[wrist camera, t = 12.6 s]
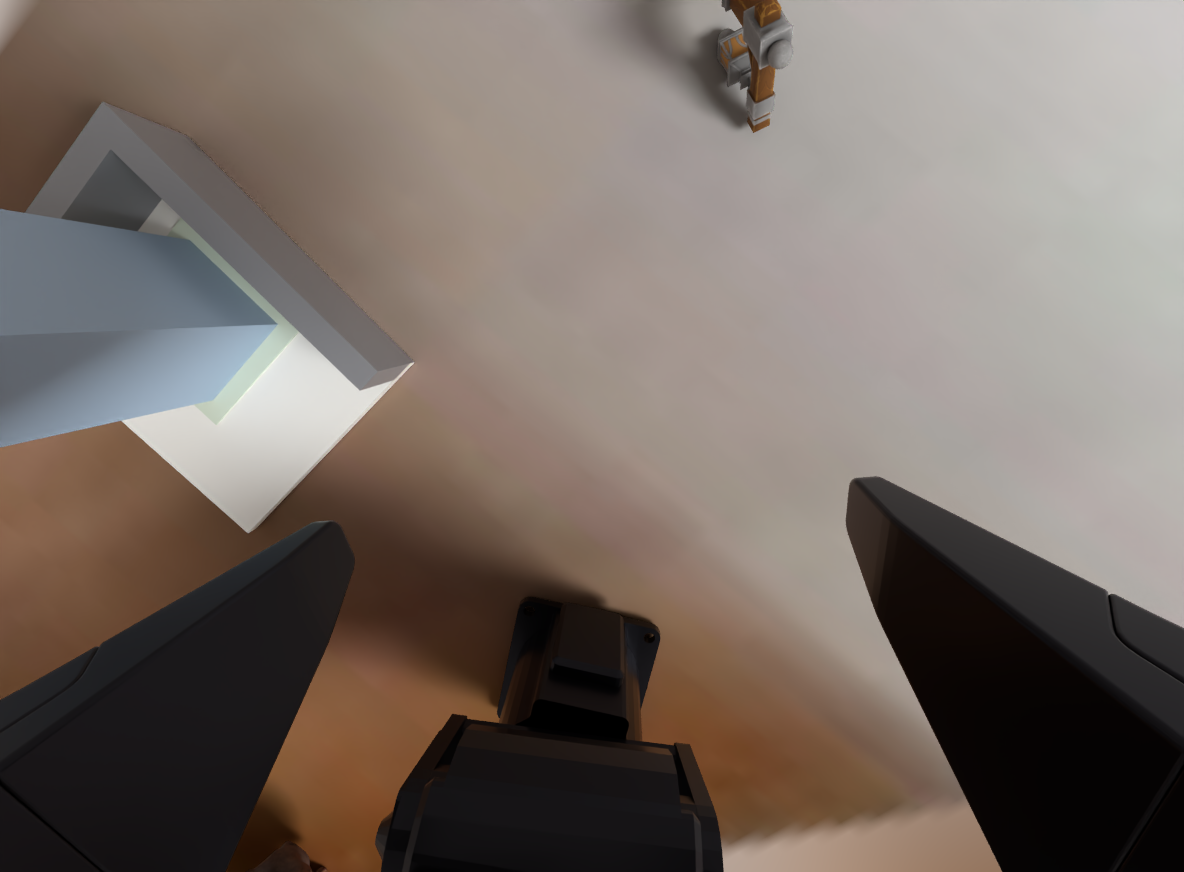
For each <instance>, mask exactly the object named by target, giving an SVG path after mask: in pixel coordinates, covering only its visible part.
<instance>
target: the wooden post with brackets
mask: <svg viewBox="0 0 1184 872" xmlns="http://www.w3.org/2000/svg"><path fill="white" fill-rule="evenodd" d="M722 7H724V8H725V11H728V10H730V9H732V11H733V12H734V14H735V15H736V17H737V19H738V20H739V22H740V23H741V25H742V28H740V29H738V30H736V31H733V30H731V29H724V30H723V31H722V32H721V33H720V34H719V37H718V53H717V59H718V61H719V62H720V63H721V64H722V65H723V67H724V68H725V70H726V71H727V73H728V74H727V86H728V87H729V86H731V85H733V84H735V83H737V82H739V81H740V83H741V86H740V90H741V89H743V88H745V87H747V86H748V90H747V101H746V107H747V109H748V112H747V114H748V120H747V122H748V124H749V126H750V128H751V130H752V131H753V133H754V132H756V131H758V130H760V129H762V128H764V127H767V126H769V125H770V118H771V113H770V112H772V111H774V103H775V93H774V91H773V85H774V77H775V69H782V68H784V67H786V66H787V65H788V64H789V63H790V61H791V59H792V57H793V47H792V44H791V42H792V34H793V25H792V24H791V23H790V22H788V20H787V19H786V17H785V15H784V14H783V12H782V10H781V6H780V4H779V3H778V1H777V0H722Z"/></svg>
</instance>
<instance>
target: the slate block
mask: <svg viewBox="0 0 1184 872" xmlns="http://www.w3.org/2000/svg"><path fill="white" fill-rule="evenodd" d="M277 325H278V324H277V323H276V322H275V321H274V320H273V319H272V318H271V317H270V316H269V315H268V314H267V313H266V312H265V311H264V310H263V309H261V308H260V307H259V306H258V305H257V304H256V303H255V302H254V301H253V300H252V299H251V298H250V297H249V296H248V295H247V294H246V293H245V292H244V291H243V290H242V289H241V288H239V287H238V286H237V285H236V284H235V283H234V282H233V281H232V280H231V279H230V278H229V277H228V276H227V275H226V274H225V273H224V272H223V271H222V270H221V269H220V268H219V267H217V266H216V265H215V264H214V263H213V262H212V261H211V260H210V259H209V258H208V257H207V256H206V255H205V254H204V253H203V252H202V251H201V250H200V249H199V248H198V247H197V246H196V245H194V244H193V243H192V242H191V241H190V240H187V239H181V238H174V237H168V236H162V235H156V234H150V233H144V232H138V231H132V230H126V229H120V228H114V227H107V226H101V225H95V224H89V223H83V222H77V221H71V220H65V219H59V218H53V217H47V216H40V215H34V214H28V213H22V212H16V211H10V210H4V209H0V447H4V446H9V445H13V444H18V443H22V442H27V441H31V440H36V439H41V438H45V437H50V436H54V435H59V434H63V433H68V432H72V431H77V430H81V429H86V428H90V427H95V426H99V425H104V424H108V423H113V422H117V421H122V420H126V419H131V418H136V417H140V416H145V415H149V414H154V413H158V412H163V411H167V410H172V409H176V408H181V407H185V406H190V405H194V404H199V403H203V402H208V401H212V400H214V399H215V397H216V396H217V395H218V394H219V393H220V392H221V390H222V389H223V388H224V387H225V386H226V385H227V383H228V382H229V381H230V380H231V379H232V378H233V376H234V375H235V374H236V373H237V372H238V371H239V369H240V368H241V367H242V366H243V365H244V364H245V362H246V361H247V360H248V359H249V358H250V357H251V355H252V354H253V353H254V352H255V351H256V350H257V348H258V347H259V346H260V345H261V344H262V343H263V341H264V340H265V339H266V338H267V337H268V336H269V334H270V333H271V332H272V331H273V330H274V329H275V327H276V326H277Z"/></svg>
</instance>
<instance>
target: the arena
mask: <svg viewBox="0 0 1184 872" xmlns="http://www.w3.org/2000/svg"><path fill="white" fill-rule="evenodd" d="M25 213H28V214H34V215H40V216H47V217H53V218H59V219H65V220H71V221H77V222H83V223H89V224H95V225H101V226H107V227H114V228H120V229H126V230H132V231H138V232H144V233H150V234H156V235H162V236H168V237H174V238H181V239H187V240H190V241H191V242H192V243H193V244H194V245H196V246H197V247H198V248H199V249H200V250H201V251H202V252H203V253H204V254H205V255H206V256H207V257H208V258H209V259H210V260H211V261H212V262H213V263H214V264H215V265H216V266H217V267H219V268H220V269H221V270H222V271H223V272H224V273H225V274H226V275H227V276H228V277H229V278H230V279H231V280H232V281H233V282H234V283H235V284H236V285H237V286H238V287H239V288H241V289H242V290H243V291H244V292H245V293H246V294H247V295H248V296H249V297H250V298H251V299H252V300H253V301H254V302H255V303H256V304H257V305H258V306H259V307H260V308H261V309H263V310H264V311H265V312H266V313H267V314H268V315H269V316H270V317H271V318H272V319H273V320H274V321H275V322H276V323H277V324H278V325H277V326H276V327H275V329H274V330H273V331H272V332H271V333H270V334H269V336H268V337H267V338H266V339H265V340H264V341H263V343H262V344H261V345H260V346H259V347H258V348H257V350H256V351H255V352H254V353H253V354H252V355H251V357H250V358H249V359H248V360H247V361H246V362H245V364H244V365H243V366H242V367H241V368H240V369H239V371H238V372H237V373H236V374H235V375H234V376H233V378H232V379H231V380H230V381H229V382H228V383H227V385H226V386H225V387H224V388H223V389H222V390H221V392H220V393H219V394H218V395H217V396H216V397H215V399H214V400H212V401H208V402H203V403H199V404H194V405H190V406H185V407H181V408H176V409H172V410H167V411H163V412H158V413H154V414H149V415H145V416H140V417H136V418H131V419H126V420H122V422H123V423H124V424H125V425H127V426H128V427H129V428H130V429H131V430H132V431H133V432H134V433H136V434H137V435H138V436H139V437H140V438H141V439H142V440H143V441H145V442H146V443H147V444H148V445H149V446H150V447H151V448H152V449H154V450H155V451H156V452H157V453H158V454H159V455H160V456H161V457H163V458H164V459H165V460H166V461H167V462H168V463H169V464H170V465H172V466H173V467H174V468H175V469H176V470H177V471H178V472H179V473H181V474H182V475H183V476H184V477H185V478H186V479H187V480H188V481H190V482H191V483H192V484H193V485H194V486H195V487H196V488H197V489H199V490H200V491H201V492H202V493H203V494H204V495H205V496H206V497H208V498H209V499H210V500H211V501H212V502H213V503H214V504H215V505H217V506H218V507H219V508H220V509H221V510H222V511H223V512H224V513H226V514H227V515H228V516H229V517H230V518H231V519H232V520H233V521H235V522H236V523H237V524H238V525H239V526H240V527H241V528H242V529H244V530H245V531H246V532H247V533H250V532H251V531H253V530H255V529H256V528H257V527H258V526H259V525H260V524H261V523H262V522H263V521H264V520H265V519H266V518H267V516H268V515H269V514H270V513H271V512H272V511H273V510H274V509H275V508H276V507H277V506H278V505H279V504H280V503H281V502H282V501H283V500H284V499H285V498H286V497H287V496H288V494H289V493H290V492H291V491H292V490H293V489H294V488H295V487H296V486H297V485H298V484H299V483H300V482H301V481H302V480H303V479H304V478H305V477H306V476H307V475H308V474H309V472H310V471H311V470H312V469H313V468H314V467H315V466H316V465H317V464H318V463H319V462H320V461H321V460H322V459H323V458H324V457H325V456H326V455H327V454H328V453H329V452H330V450H331V449H332V448H333V447H334V446H335V445H336V444H337V443H338V442H339V441H340V440H341V439H342V438H343V437H344V436H345V435H346V434H347V433H348V432H349V431H350V430H351V428H352V427H353V426H354V425H355V424H356V423H357V422H358V421H359V420H360V419H361V418H362V417H363V416H364V415H365V414H366V413H367V412H368V411H369V410H370V409H371V407H372V406H373V405H374V404H375V403H376V402H377V401H378V400H379V399H380V398H381V397H382V396H383V395H384V394H385V393H386V392H387V391H388V390H389V389H390V388H391V387H392V385H393V384H394V383H395V382H396V381H397V380H398V379H399V378H400V377H401V376H402V375H403V374H404V373H405V372H406V371H407V370H408V369H409V368H410V367H411V366H412V365H413V363H414V361H413V360H412V359H411V358H410V357H409V356H408V355H407V354H406V353H405V352H404V351H403V350H402V349H401V348H400V347H399V346H398V345H397V344H396V343H395V342H394V341H393V340H392V339H391V338H390V337H389V336H388V335H387V334H386V333H385V332H384V331H383V330H382V329H381V328H380V327H379V326H378V325H377V324H376V323H375V322H374V321H373V320H372V319H371V318H370V317H369V316H368V315H367V314H366V313H365V312H364V311H363V310H362V309H361V308H360V307H359V306H358V305H357V304H356V303H355V302H354V301H353V300H352V299H351V298H350V297H349V296H348V295H347V294H346V293H345V292H344V291H343V290H342V289H341V288H340V287H339V286H338V285H337V284H336V283H335V282H334V281H333V280H332V279H331V278H330V277H329V276H328V275H327V274H326V273H325V272H324V271H323V270H322V269H321V268H320V267H319V266H318V265H317V264H316V263H315V262H314V261H313V260H312V259H311V258H310V257H309V256H308V255H307V254H306V253H305V252H304V251H303V250H302V249H301V248H300V247H299V246H298V245H297V244H296V243H295V242H294V241H293V240H292V239H291V238H290V237H289V236H287V235H286V234H285V233H284V232H283V231H282V230H281V229H280V228H279V227H278V226H277V225H276V224H275V223H274V222H273V221H272V220H271V219H270V218H269V217H268V216H267V215H266V214H265V213H264V212H263V211H262V210H261V209H260V208H259V207H258V206H257V205H256V204H255V203H254V202H253V201H252V200H251V199H250V198H249V197H248V196H247V195H246V194H245V193H244V192H243V191H242V190H241V189H240V188H239V187H238V186H237V185H236V184H235V183H234V182H233V181H232V180H231V179H230V178H229V177H228V176H227V175H226V174H225V173H224V172H223V171H222V170H221V169H220V168H219V167H218V166H217V165H216V164H215V163H214V162H213V161H212V160H211V159H210V158H209V157H208V156H207V155H206V154H205V153H204V152H203V151H202V150H201V149H200V148H199V147H198V146H197V145H196V144H195V143H194V142H193V141H192V140H191V139H190V138H189V137H188V136H187V135H184V134H182V133H179V132H177V131H175V130H172V129H170V128H167V127H165V126H162V125H160V124H157V123H155V122H152V121H150V120H147V119H145V118H142V117H140V116H137V115H135V114H133V113H130V112H128V111H125V110H123V109H120V108H118V107H115V106H113V105H110V104H108V103H105V102H102V103H101V104H100V106H99V107H98V109H97V110H96V112H95V113H94V114H93V116H92V117H91V119H90V120H89V122H88V123H87V124H86V126H85V127H84V129H83V130H82V132H81V133H80V134H79V136H78V137H77V139H76V140H75V142H74V143H73V144H72V146H71V147H70V149H69V150H68V152H67V153H66V155H65V156H64V157H63V159H62V160H61V162H60V163H59V165H58V166H57V167H56V169H55V170H54V172H53V173H52V175H51V176H50V177H49V179H48V180H47V182H46V183H45V185H44V186H43V187H42V189H41V190H40V192H39V193H38V195H37V196H36V197H35V199H34V200H33V202H32V203H31V205H30V206H29V207H28V209H27V210H26V212H25Z"/></svg>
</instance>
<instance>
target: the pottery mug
mask: <svg viewBox="0 0 1184 872" xmlns="http://www.w3.org/2000/svg"><path fill="white" fill-rule="evenodd" d="M246 872H312V870H311V867H310V861H309V856H308V855H307V854H306V852H305V851H304V850H302V849H301V848H300V847H299V846H297V845H296V844H295V843H293V842H291V841H286V842H285V843H284V844H283V845H282V846H281V847H280V848H279V849H277V850H275V851H274V852H273V853H272V854H271V855H269V856H268V857H267V858H266V859H265V860H264V861H263V862H262V863H260V864H259V865H258V866H257V867H256V868H254V869H250V870H248V871H246ZM316 872H327V870H326V868H325V867H321V868H319V869H318V870H317V871H316Z"/></svg>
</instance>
